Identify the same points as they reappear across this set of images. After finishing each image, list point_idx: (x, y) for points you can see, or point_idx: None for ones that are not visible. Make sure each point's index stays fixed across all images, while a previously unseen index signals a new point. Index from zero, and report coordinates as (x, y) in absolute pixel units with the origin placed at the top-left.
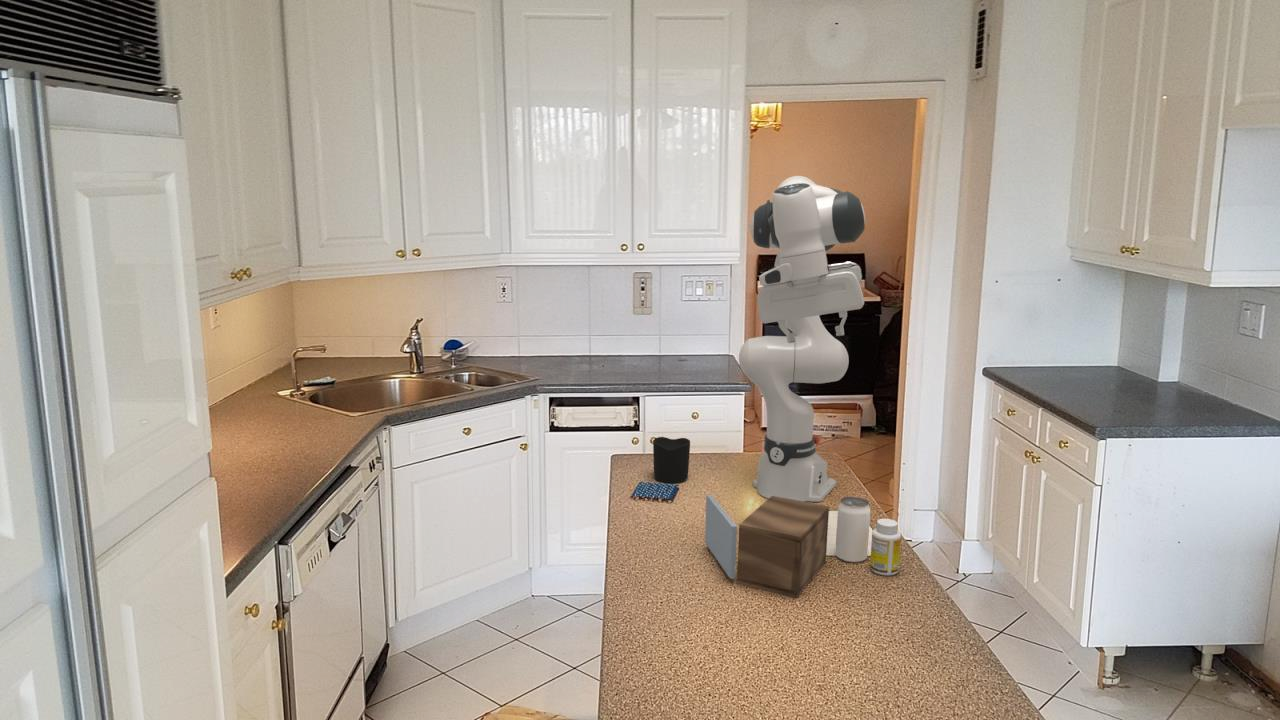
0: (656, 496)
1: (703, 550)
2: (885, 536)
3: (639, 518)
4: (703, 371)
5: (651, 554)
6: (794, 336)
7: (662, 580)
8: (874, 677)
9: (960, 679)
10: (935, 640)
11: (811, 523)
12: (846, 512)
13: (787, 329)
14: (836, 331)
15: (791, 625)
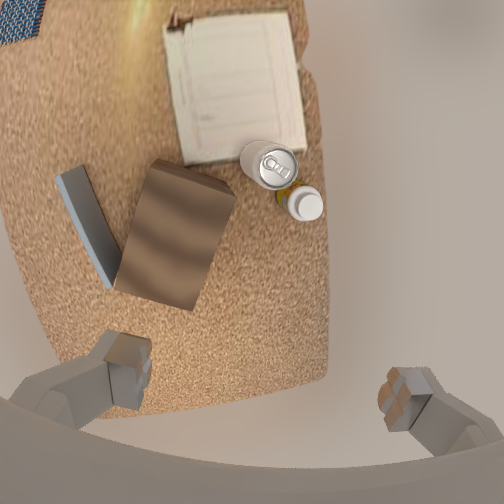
0: (17, 38)
1: None
2: (301, 219)
3: (3, 102)
4: None
5: (30, 204)
6: (141, 370)
7: (56, 264)
8: (245, 374)
9: (302, 362)
10: (301, 321)
11: (207, 267)
12: (261, 185)
13: (83, 381)
14: (386, 416)
15: (185, 325)
